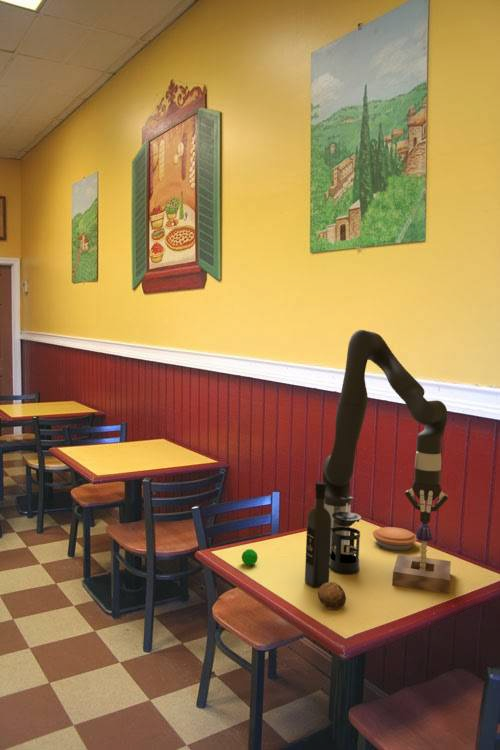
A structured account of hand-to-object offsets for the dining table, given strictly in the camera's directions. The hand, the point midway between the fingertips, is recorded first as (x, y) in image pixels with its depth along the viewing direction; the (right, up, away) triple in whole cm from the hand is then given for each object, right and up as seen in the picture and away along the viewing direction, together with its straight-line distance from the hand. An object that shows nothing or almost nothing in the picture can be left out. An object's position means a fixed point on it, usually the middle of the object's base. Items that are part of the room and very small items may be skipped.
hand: (425, 523), depth 185 cm
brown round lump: (-31, -18, -19) cm, 40 cm away
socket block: (-1, -17, +1) cm, 17 cm away
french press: (-24, -16, +8) cm, 30 cm away
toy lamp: (-1, -17, +1) cm, 17 cm away
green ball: (-53, -15, +8) cm, 56 cm away
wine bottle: (-33, -17, -5) cm, 37 cm away
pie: (-2, -15, +31) cm, 35 cm away
